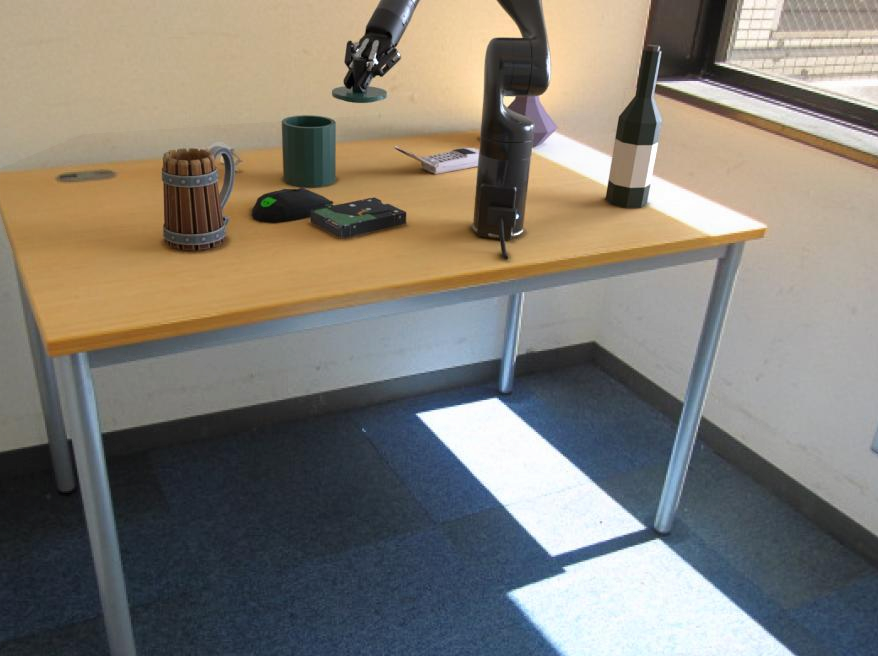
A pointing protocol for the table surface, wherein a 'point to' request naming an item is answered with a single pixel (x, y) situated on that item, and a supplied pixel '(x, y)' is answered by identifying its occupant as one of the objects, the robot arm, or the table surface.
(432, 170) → the mobile phone
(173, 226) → the mug
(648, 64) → the wine bottle
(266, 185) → the table surface
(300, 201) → the computer mouse
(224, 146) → the origami figure
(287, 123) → the cylindrical cup
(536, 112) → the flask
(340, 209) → the disk drive
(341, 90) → the green pot lid
